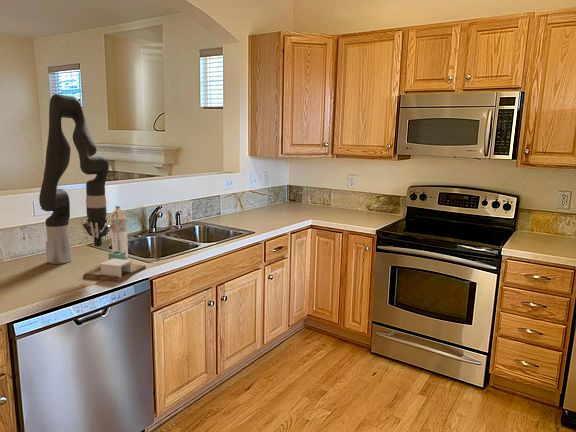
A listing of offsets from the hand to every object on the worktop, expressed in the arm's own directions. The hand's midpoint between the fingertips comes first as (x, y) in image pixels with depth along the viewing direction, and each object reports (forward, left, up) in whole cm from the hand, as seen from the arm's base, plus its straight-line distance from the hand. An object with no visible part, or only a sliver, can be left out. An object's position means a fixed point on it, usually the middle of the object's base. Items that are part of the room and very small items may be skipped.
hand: (98, 246), depth 184 cm
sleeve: (+2, +9, -11) cm, 14 cm away
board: (+5, +3, -12) cm, 14 cm away
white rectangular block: (+9, -1, -11) cm, 14 cm away
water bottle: (-7, +23, -12) cm, 27 cm away
